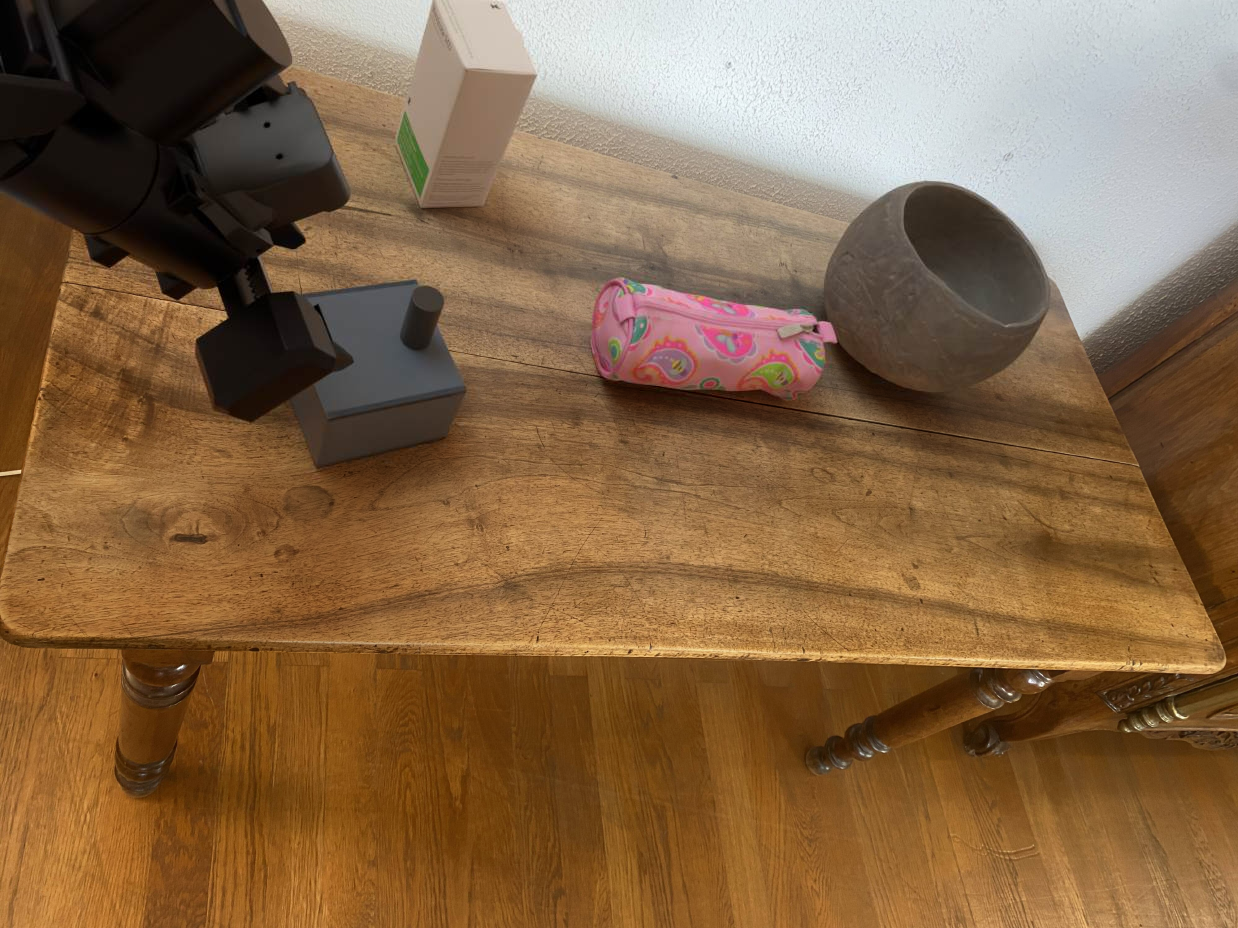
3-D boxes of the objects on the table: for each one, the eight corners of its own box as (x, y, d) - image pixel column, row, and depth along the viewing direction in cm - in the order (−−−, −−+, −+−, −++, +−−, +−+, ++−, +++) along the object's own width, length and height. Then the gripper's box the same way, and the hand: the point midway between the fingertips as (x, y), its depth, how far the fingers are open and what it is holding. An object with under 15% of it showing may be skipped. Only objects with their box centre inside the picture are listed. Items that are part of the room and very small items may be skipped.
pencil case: (776, 343, 88) (827, 286, 80) (797, 421, 83) (853, 368, 76) (576, 315, 79) (614, 248, 72) (589, 400, 75) (630, 339, 68)
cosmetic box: (392, 142, 80) (428, -11, 68) (459, 143, 84) (505, -3, 71) (421, 212, 78) (463, 66, 65) (489, 210, 81) (541, 71, 69)
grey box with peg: (335, 380, 53) (483, 354, 58) (283, 252, 56) (428, 238, 61) (316, 469, 62) (445, 438, 68) (272, 354, 65) (399, 334, 71)
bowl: (914, 270, 103) (1008, 177, 91) (986, 423, 94) (1100, 343, 83) (768, 256, 94) (851, 151, 82) (833, 425, 85) (937, 334, 73)
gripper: (317, 242, 34) (489, 361, 49) (191, -73, 40) (379, 118, 55) (104, 383, 36) (330, 457, 51) (12, 63, 42) (240, 212, 57)
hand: (323, 302), depth 53 cm, fingers open, 9 cm apart
